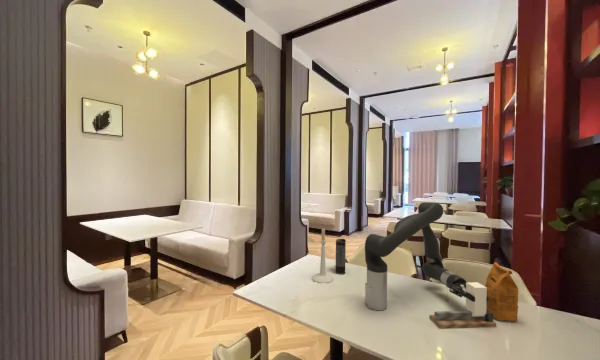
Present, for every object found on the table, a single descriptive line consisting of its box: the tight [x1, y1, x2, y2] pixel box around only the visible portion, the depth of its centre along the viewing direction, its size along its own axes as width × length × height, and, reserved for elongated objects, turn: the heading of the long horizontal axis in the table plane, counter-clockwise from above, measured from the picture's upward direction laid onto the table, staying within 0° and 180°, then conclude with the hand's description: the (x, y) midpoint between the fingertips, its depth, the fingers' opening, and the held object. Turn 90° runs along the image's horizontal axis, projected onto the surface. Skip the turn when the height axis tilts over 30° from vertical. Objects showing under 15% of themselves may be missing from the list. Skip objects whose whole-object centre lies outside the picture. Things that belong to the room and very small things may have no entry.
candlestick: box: [311, 228, 335, 284], centre depth 147 cm, size 13×13×30 cm
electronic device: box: [335, 238, 347, 275], centre depth 159 cm, size 9×6×20 cm, turn 168°
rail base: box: [429, 309, 497, 329], centre depth 105 cm, size 24×7×5 cm, turn 93°
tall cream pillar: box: [465, 281, 487, 316], centre depth 105 cm, size 5×5×12 cm
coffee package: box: [485, 261, 519, 322], centre depth 111 cm, size 10×12×22 cm
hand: (480, 299), depth 102 cm, fingers closed on tall cream pillar, 5 cm apart
